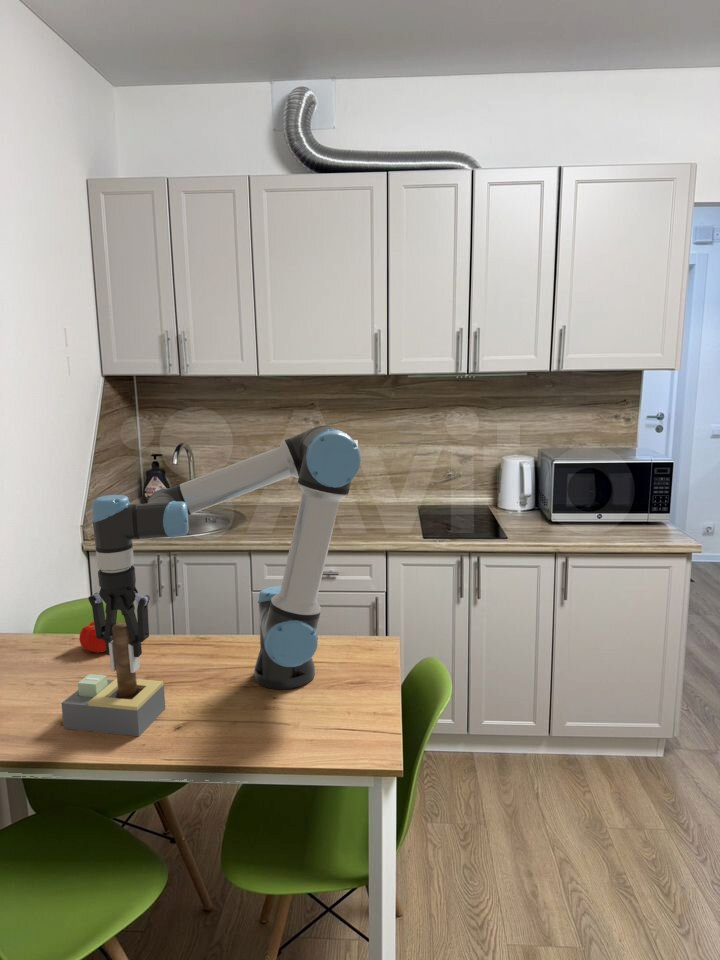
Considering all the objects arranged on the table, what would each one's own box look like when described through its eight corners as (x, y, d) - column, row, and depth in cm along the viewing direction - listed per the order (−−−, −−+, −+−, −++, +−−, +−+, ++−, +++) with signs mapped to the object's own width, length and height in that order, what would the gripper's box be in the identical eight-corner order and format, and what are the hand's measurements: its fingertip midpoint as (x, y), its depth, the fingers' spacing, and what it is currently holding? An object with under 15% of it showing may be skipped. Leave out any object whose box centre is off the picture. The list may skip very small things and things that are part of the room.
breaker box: (165, 708, 163) (163, 681, 162) (139, 736, 151) (136, 706, 150) (94, 702, 167) (92, 675, 165) (63, 728, 155) (61, 699, 154)
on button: (108, 692, 161) (106, 675, 160) (97, 701, 156) (95, 684, 156) (90, 690, 162) (89, 673, 161) (79, 699, 157) (77, 682, 157)
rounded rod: (140, 690, 159) (134, 622, 156) (131, 698, 155) (125, 629, 152) (124, 688, 160) (118, 621, 157) (115, 697, 156) (108, 628, 153)
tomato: (98, 660, 189) (96, 633, 188) (72, 651, 195) (70, 625, 194) (130, 646, 198) (128, 620, 197) (105, 638, 204) (103, 613, 203)
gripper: (161, 563, 154) (169, 664, 158) (90, 560, 157) (100, 659, 162) (143, 574, 147) (152, 679, 151) (70, 571, 150) (81, 674, 154)
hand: (125, 669), depth 156 cm, fingers closed on rounded rod, 4 cm apart
